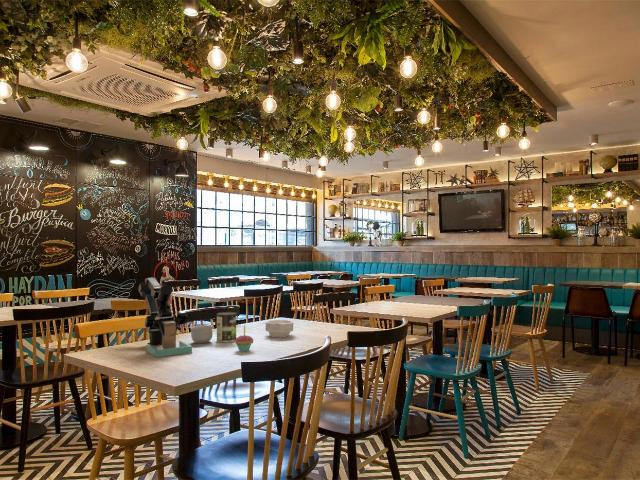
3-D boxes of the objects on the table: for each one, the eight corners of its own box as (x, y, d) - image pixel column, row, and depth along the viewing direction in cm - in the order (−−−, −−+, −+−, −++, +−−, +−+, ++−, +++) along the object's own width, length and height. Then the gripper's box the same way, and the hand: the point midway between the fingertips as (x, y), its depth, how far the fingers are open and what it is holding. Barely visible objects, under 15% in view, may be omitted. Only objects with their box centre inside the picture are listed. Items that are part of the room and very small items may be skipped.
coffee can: (240, 339, 252) (240, 312, 252) (230, 342, 242) (230, 315, 242) (223, 338, 255) (222, 311, 255) (212, 341, 245) (212, 314, 245)
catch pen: (146, 351, 223) (146, 344, 223) (181, 346, 232) (181, 340, 232) (155, 357, 210) (155, 350, 210) (192, 352, 219) (191, 346, 219)
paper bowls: (298, 335, 262) (298, 320, 262) (282, 339, 249) (282, 324, 249) (276, 332, 270) (276, 318, 270) (259, 336, 257) (259, 322, 258)
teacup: (206, 344, 237) (206, 328, 237) (186, 344, 239) (186, 328, 239) (218, 339, 251) (218, 324, 251) (199, 338, 253) (199, 323, 253)
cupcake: (236, 348, 227) (235, 323, 227) (253, 348, 228) (253, 323, 228) (234, 352, 218) (234, 326, 219) (252, 352, 219) (252, 326, 219)
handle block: (162, 347, 222) (162, 322, 222) (172, 346, 225) (172, 321, 225) (164, 349, 218) (165, 323, 218) (175, 348, 221) (175, 322, 221)
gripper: (179, 316, 240) (185, 342, 230) (140, 319, 229) (145, 346, 220) (183, 302, 233) (191, 328, 224) (144, 305, 223) (150, 332, 213)
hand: (169, 334), depth 220 cm, fingers closed on handle block, 5 cm apart
